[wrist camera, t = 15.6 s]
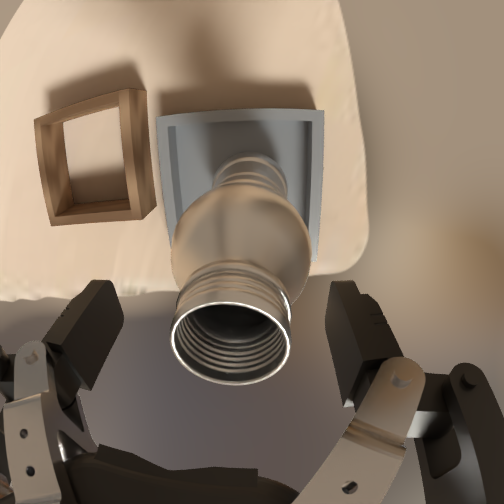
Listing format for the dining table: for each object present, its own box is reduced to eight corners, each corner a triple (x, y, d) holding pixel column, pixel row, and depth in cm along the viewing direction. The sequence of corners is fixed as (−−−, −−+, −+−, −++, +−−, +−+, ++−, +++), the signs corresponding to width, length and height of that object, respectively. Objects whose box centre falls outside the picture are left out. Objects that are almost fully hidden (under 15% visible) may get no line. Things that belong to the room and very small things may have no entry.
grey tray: (166, 116, 23) (155, 117, 20) (317, 111, 22) (324, 110, 20) (180, 248, 29) (173, 262, 27) (311, 247, 29) (316, 261, 26)
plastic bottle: (213, 213, 27) (142, 392, 9) (219, 144, 24) (105, 230, 6) (279, 220, 27) (308, 411, 9) (290, 152, 24) (375, 260, 6)
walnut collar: (56, 116, 22) (33, 119, 18) (146, 91, 22) (128, 87, 18) (70, 213, 28) (51, 226, 24) (156, 205, 27) (142, 219, 24)
